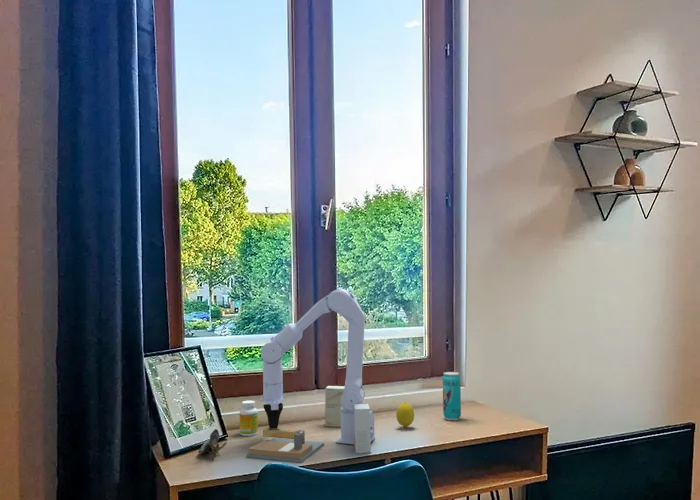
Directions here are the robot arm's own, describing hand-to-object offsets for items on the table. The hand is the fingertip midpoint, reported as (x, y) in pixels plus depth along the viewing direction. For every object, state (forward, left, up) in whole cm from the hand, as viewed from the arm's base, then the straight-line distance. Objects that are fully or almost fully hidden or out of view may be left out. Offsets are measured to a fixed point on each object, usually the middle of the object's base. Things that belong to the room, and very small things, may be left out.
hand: (273, 429), depth 180 cm
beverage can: (-46, -39, -3) cm, 60 cm away
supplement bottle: (+10, -4, -3) cm, 11 cm away
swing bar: (-6, +5, -2) cm, 8 cm away
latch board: (-8, +9, -3) cm, 13 cm away
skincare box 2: (-28, +2, -3) cm, 28 cm away
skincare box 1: (-12, -21, -3) cm, 24 cm away
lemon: (-34, -24, -3) cm, 41 cm away
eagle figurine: (+9, +19, -3) cm, 21 cm away
